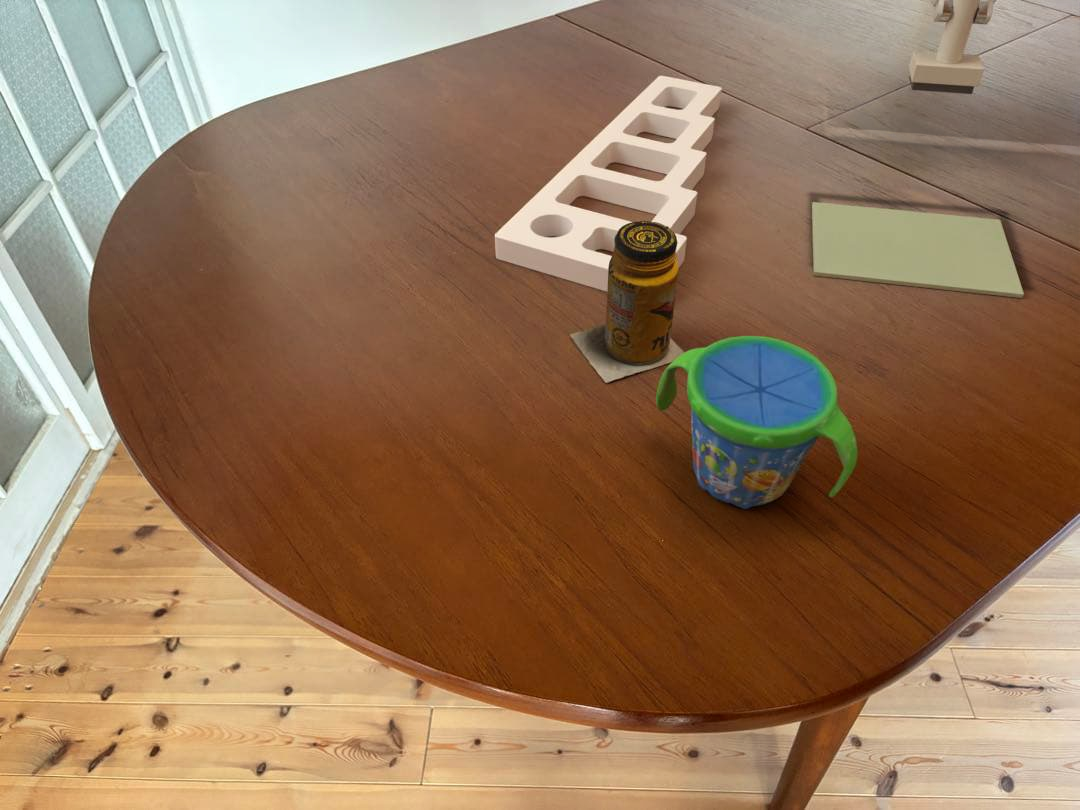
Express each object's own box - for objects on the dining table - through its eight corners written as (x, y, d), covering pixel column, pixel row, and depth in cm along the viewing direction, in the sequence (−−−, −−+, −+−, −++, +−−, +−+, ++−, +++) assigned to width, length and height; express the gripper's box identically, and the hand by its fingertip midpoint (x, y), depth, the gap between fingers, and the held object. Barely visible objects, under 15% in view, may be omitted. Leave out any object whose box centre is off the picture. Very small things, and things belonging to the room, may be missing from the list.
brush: (970, 81, 98) (1011, -43, 89) (975, 95, 95) (1018, -30, 86) (905, 76, 99) (940, -46, 90) (908, 91, 96) (944, -34, 87)
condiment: (687, 357, 79) (703, 246, 70) (605, 384, 76) (611, 272, 68) (647, 313, 83) (657, 204, 75) (569, 337, 81) (571, 227, 73)
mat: (998, 223, 94) (1000, 219, 94) (1022, 298, 84) (1024, 294, 84) (811, 205, 97) (812, 201, 97) (813, 275, 88) (814, 271, 87)
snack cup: (863, 491, 67) (900, 396, 60) (788, 571, 61) (818, 477, 54) (702, 396, 75) (717, 302, 68) (622, 460, 69) (630, 365, 62)
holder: (658, 94, 119) (659, 75, 117) (785, 120, 113) (789, 100, 111) (494, 258, 91) (493, 236, 89) (651, 305, 84) (654, 282, 83)
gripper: (884, -129, 90) (866, 0, 90) (1095, -123, 87) (1077, 12, 87) (871, -93, 96) (854, 28, 96) (1067, -86, 93) (1050, 40, 93)
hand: (961, 20), depth 91 cm, fingers closed on brush, 2 cm apart
